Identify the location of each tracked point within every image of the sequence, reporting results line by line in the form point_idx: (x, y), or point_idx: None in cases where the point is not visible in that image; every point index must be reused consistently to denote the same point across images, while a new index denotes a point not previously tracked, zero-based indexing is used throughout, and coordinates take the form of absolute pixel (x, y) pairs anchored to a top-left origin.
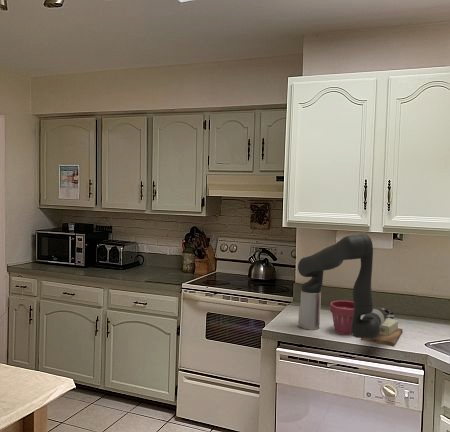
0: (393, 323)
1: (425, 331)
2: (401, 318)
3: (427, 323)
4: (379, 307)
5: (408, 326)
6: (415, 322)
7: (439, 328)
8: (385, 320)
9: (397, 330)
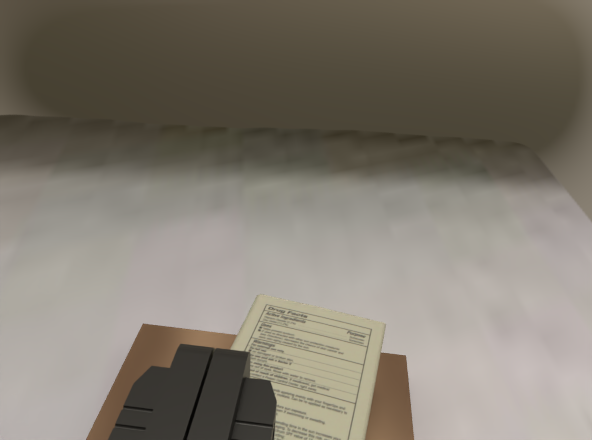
0: (360, 429)
1: (534, 304)
2: (340, 173)
3: (483, 195)
4: (134, 402)
5: (406, 258)
6: (423, 199)
7: (572, 237)
8: (262, 362)
9: (375, 409)
